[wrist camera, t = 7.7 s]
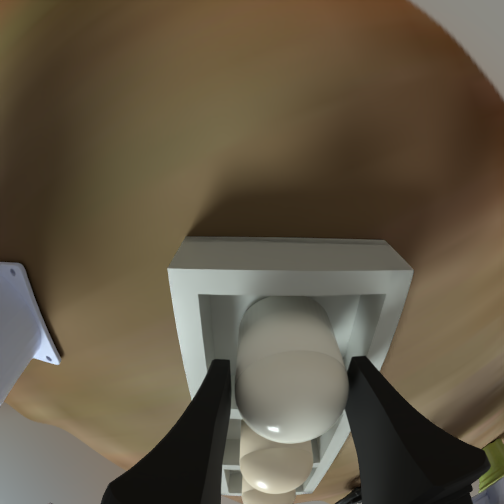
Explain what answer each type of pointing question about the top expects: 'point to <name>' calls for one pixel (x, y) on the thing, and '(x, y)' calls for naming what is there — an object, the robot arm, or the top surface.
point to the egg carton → (282, 284)
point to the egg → (289, 370)
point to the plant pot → (493, 464)
